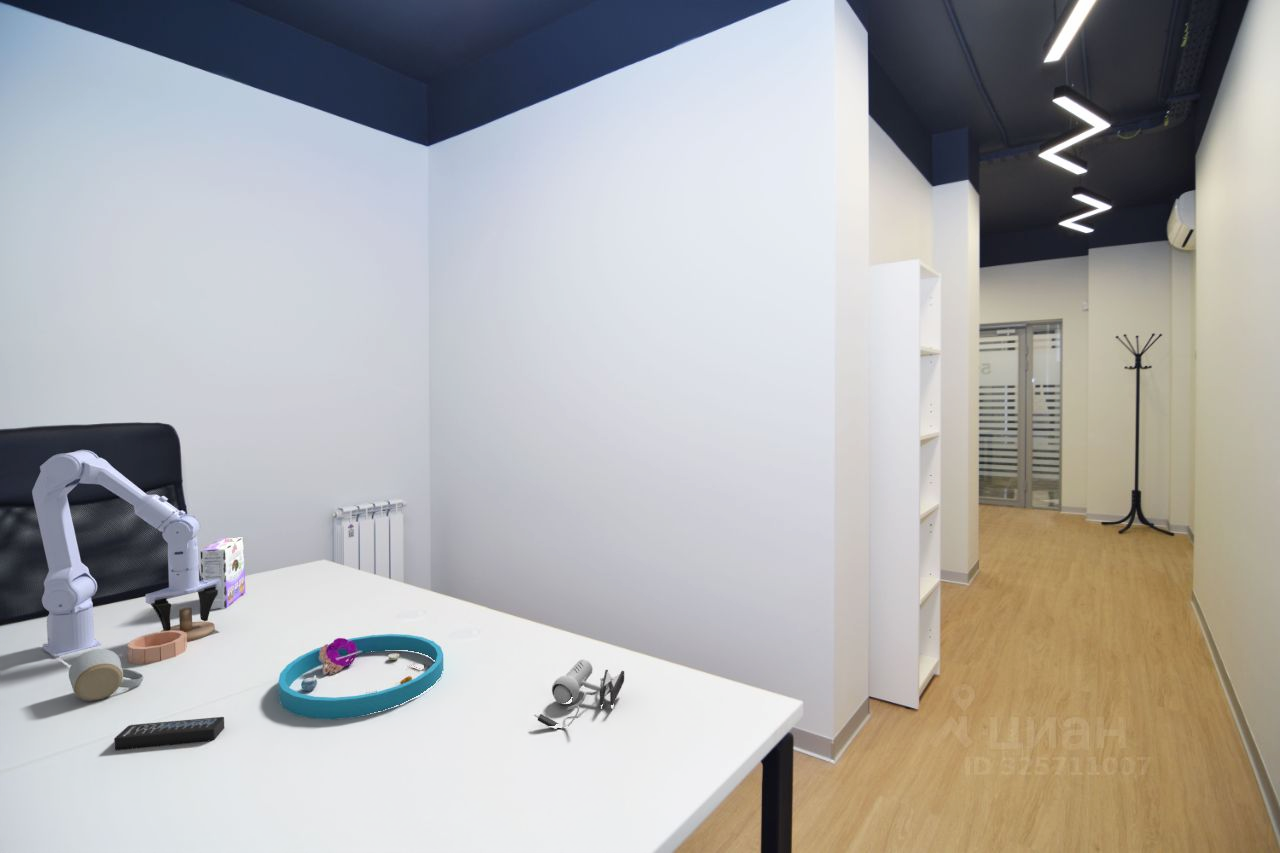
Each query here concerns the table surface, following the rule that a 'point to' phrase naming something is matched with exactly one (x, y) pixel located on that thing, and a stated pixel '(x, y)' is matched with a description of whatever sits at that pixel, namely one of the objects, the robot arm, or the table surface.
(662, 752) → the table surface
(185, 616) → the lid
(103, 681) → the ceramic mug
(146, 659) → the bowl
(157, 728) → the multiport hub
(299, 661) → the teal ring
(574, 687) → the clip-on lamp
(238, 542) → the candy box
